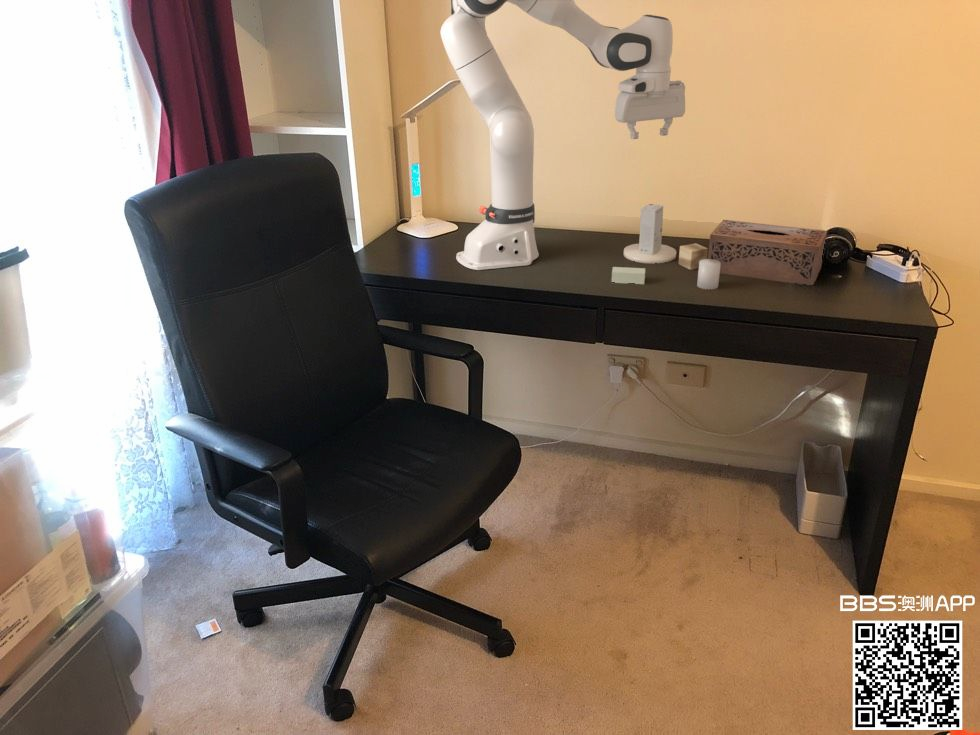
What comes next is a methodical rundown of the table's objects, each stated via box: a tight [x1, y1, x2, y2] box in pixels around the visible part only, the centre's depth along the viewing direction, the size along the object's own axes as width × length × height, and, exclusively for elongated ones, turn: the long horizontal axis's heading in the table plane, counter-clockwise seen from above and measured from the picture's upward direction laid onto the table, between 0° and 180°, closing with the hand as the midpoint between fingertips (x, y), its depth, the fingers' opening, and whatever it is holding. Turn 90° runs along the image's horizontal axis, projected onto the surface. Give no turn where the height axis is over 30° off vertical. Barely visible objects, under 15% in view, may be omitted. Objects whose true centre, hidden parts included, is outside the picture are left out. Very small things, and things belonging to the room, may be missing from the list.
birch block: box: [678, 242, 709, 270], centre depth 208 cm, size 5×5×5 cm
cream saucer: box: [623, 243, 677, 265], centre depth 217 cm, size 14×14×1 cm
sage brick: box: [611, 266, 646, 285], centre depth 199 cm, size 8×4×3 cm, turn 79°
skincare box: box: [638, 203, 664, 255], centre depth 214 cm, size 6×4×12 cm
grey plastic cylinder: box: [696, 258, 721, 291], centre depth 194 cm, size 5×5×6 cm
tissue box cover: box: [707, 219, 828, 286], centre depth 203 cm, size 26×14×10 cm, turn 63°
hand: (649, 137), depth 215 cm, fingers open, 8 cm apart
